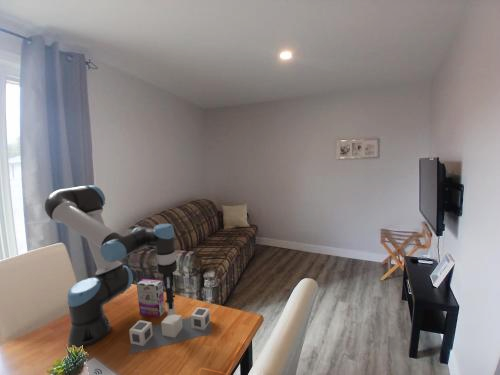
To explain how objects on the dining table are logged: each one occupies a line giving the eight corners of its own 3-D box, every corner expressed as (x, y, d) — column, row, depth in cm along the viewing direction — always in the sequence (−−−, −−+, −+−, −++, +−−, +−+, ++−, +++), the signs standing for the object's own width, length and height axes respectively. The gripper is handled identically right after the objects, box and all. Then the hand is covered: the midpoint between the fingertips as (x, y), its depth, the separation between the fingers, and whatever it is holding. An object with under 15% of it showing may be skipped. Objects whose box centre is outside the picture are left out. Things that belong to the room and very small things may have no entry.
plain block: (162, 335, 104) (161, 322, 103) (170, 325, 110) (169, 313, 109) (174, 337, 102) (173, 324, 102) (182, 327, 108) (181, 315, 107)
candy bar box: (165, 311, 121) (163, 280, 118) (159, 318, 116) (157, 285, 113) (146, 308, 123) (143, 278, 121) (139, 315, 118) (136, 283, 116)
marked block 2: (191, 328, 108) (190, 315, 107) (198, 318, 114) (197, 306, 113) (204, 330, 106) (203, 317, 105) (210, 321, 112) (209, 308, 111)
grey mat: (129, 355, 95) (129, 354, 95) (134, 330, 108) (134, 329, 108) (212, 334, 104) (212, 333, 104) (207, 314, 118) (207, 313, 118)
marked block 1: (130, 343, 100) (128, 329, 99) (140, 332, 106) (139, 319, 105) (143, 346, 98) (141, 332, 97) (153, 335, 104) (151, 322, 103)
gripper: (176, 266, 96) (181, 321, 100) (175, 254, 109) (180, 303, 112) (156, 270, 94) (161, 326, 98) (157, 256, 106) (162, 306, 110)
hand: (171, 313), depth 105 cm, fingers closed
